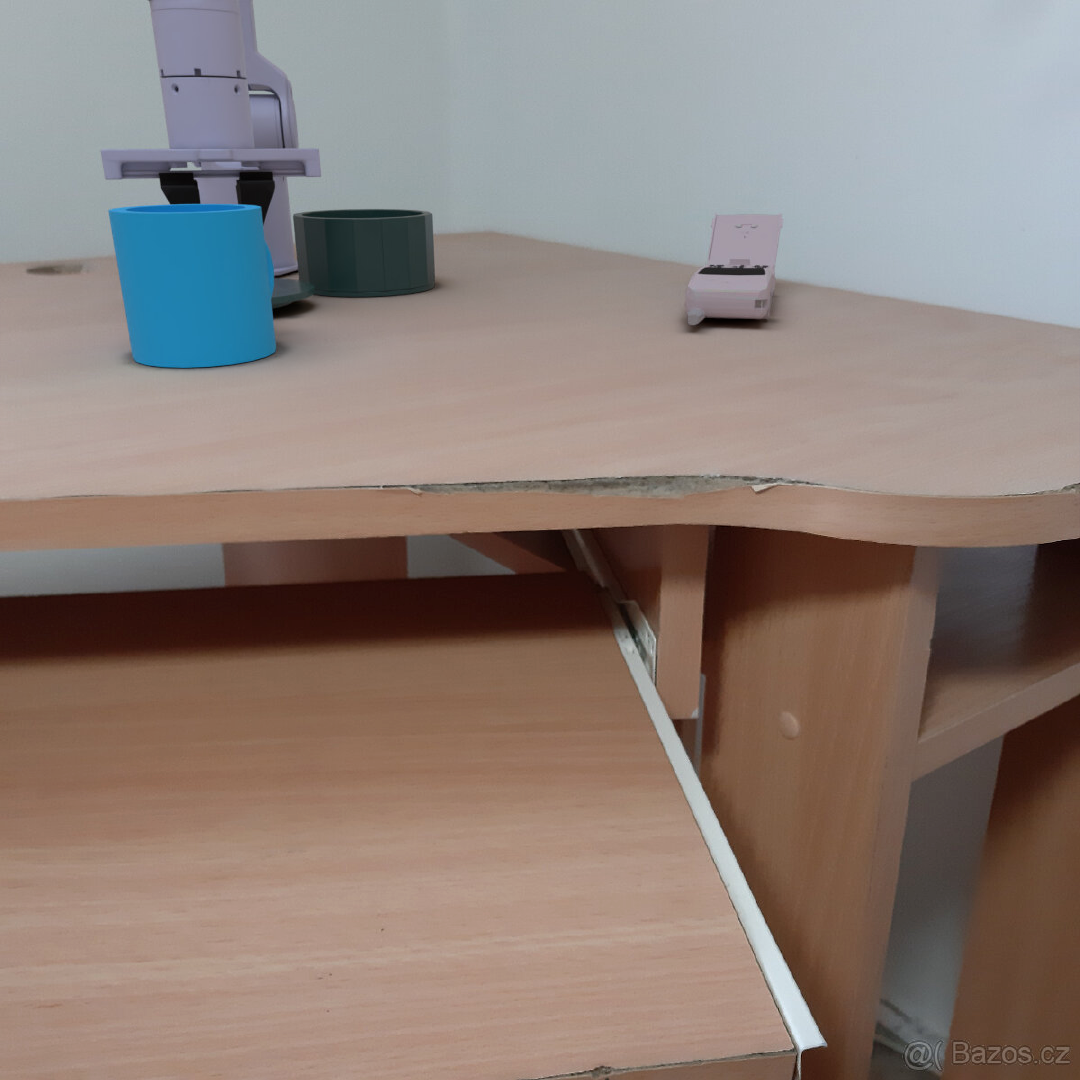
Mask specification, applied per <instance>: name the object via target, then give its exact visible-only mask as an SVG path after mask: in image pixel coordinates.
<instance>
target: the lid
mask: <svg viewBox="0 0 1080 1080" xmlns="http://www.w3.org/2000/svg"><path fill="white" fill-rule="evenodd" d="M314 293H315V287H314V285H313V284H311V283H309V282H305V281H300V280H299V279H292V278H282V277H281V278H278V277H274V288H273V293H272V298H271V303H272V310H273V309H279V308H282V307H285V306H288V305H291V304H292V303H293V302H297V301H302V300H304V299H307V298H310V297H312V296H314V295H315V294H314Z"/></svg>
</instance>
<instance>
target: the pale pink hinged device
mask: <svg viewBox="0 0 1080 1080" xmlns="http://www.w3.org/2000/svg"><path fill="white" fill-rule="evenodd" d="M782 215H783V213H778V214H765V213H761V214H760V213H750V214H747V213H746V214H718V213H714V218H712V220H711V225H710V228H711V233H710V241H709V248H708V256H707V262H706V263H705V264H704V266H702V267H700V268H699V269H698V270H696V271H695V272H694V273H693V274H692V276H691V278H690V280H689V282H688V284H687V286H686V291H685V298H684V299H685V300H684V308H685V313H686V315H687V324H688V325H690V326H696V325H699V324H700V323H701V322H702V321H703V320H704V319H734V320H735V319H738V320H740V319H741V320H769V319H770V313H771V308H772V302H773V297H774V293H775V287H776V277H775V276H776V275H775V274H776V262H777V255H778V250H779V243H780V234H781V229H783V227H784V218H782V217H783V216H782Z"/></svg>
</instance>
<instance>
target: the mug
mask: <svg viewBox="0 0 1080 1080" xmlns="http://www.w3.org/2000/svg"><path fill="white" fill-rule="evenodd" d="M107 212H108V216H109V217H108V218H109V224H110V230H111V236H112V239H113V240H112V241H113V247H114V248H113V249H114V254H115V260H116V264H117V272H118V278H119V283H120V289H121V295H122V301H123V307H124V313H125V319H126V326H127V331H128V337H129V343H130V349H131V356H132V359H133V360H134V361H135V363H139V364H141V365H145V366H151V367H158V368H177V369H179V368H181V369H188V368H189V369H190V368H210V367H211V368H212V367H220V366H230V365H238V364H242V363H243V364H244V363H249V362H253V361H257V360H260V359H263V358H267V357H269V356H271V355H272V354H274V353H276V350H277V342H276V334H275V331H276V330H275V324H274V323H275V322H274V314H273V309H272V303H271V298H272V293H273V288H274V278H275V276H274V266H273V261H272V257H271V252H270V250H269V248H268V246H267V243H266V241H265V238H264V229H263V220H262V210H261V207H260V206H256V205H243V204H171V205H170V204H151V205H150V204H149V205H148V204H147V205H134V206H133V205H131V206H123V207H116V208H115V207H114V208H111V209H108V210H107Z"/></svg>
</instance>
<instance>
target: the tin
mask: <svg viewBox="0 0 1080 1080" xmlns="http://www.w3.org/2000/svg"><path fill="white" fill-rule="evenodd" d="M433 219H434V217H433V213H432V212H430V211H427V210H419V209H418V210H417V209H403V208H402V209H401V208H355V209H354V208H352V209H351V208H349V209H348V208H346V209H324V210H312V211H302V212H297V213H296V212H295V213H293V215H292V220H293V222H292V223H293V232H294V242H295V243H294V244H295V251H296V261H297V264H298V270H297V272H298V280H300V281H305V282H309V283H311V284H313V285H314V287H315V293H314V295H315V296H316V295H317V296H326V297H339V298H372V297H375V298H376V297H392V296H402V295H403V296H404V295H409V294H415V293H422V292H426V291H428V290H431V289H433V288H434V287H435V282H436V268H435V266H436V265H435V245H434V244H435V242H434V220H433Z"/></svg>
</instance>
